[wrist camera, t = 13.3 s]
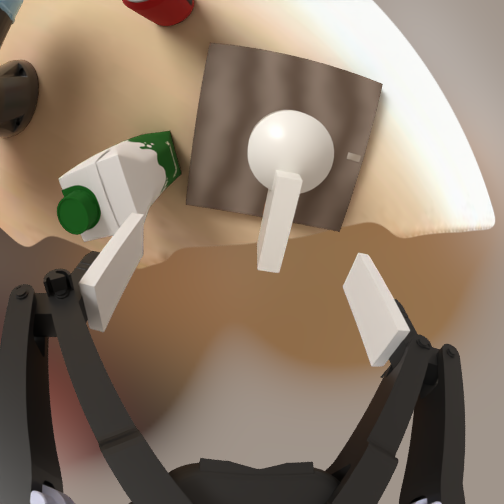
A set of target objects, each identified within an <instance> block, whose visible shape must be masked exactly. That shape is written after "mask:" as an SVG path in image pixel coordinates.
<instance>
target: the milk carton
mask: <svg viewBox="0 0 504 504" xmlns="http://www.w3.org/2000/svg"><path fill="white" fill-rule="evenodd" d="M181 174H182V173H181V170H180V166H179V163H178V159H177V156H176V152H175V148H174V145H173V141H172V137H171V133H170V131H165V132H157V133H150V134H144V135H140V136H137V137H134V138H131V139H128V140H125V141H123V142H121V143H119V144H116V145H114V146H112V147H110V148H108V149H106V150H104V151H102V152H100V153H97V154H96V155H94V156H92V157H90V158H89V159H87V160H85V161H84V162H82V163H80V164H78V165H77V166H75V167H74V168H72V169H71V170H69V171H68V172H67V173H65V174H64V175H62V176H61V177H60V178H59V182H60V185H61V187H62V193H63V195H64V198H63V199H62V200H61V201H60V202H59V204H58V207H57V216H58V219H59V222H60V224H61V225H62V227H63V228H64V229H65V230H66V231H68V232H69V233H71V234H76V235H78V234H81V236H82V239H83V241H84V242H86V241H91V240H95V239H99V238H104V237H108V236H113V235H114V234H115V233H116V232H117V230H118V229H119V228H120V227H121V225H122V224H123V223H124V222H125V220H126V219H127V218H128V217H129V216H130V214H131V213H137V214H144V222H145V219H146V216H147V213H148V210H149V208H150V206H151V205H152V204H153V203H154V202H155V200H156V199H157V198H158V197H159V196H160V194H161V193H162V192H163V191H164V190H165V189H166V188H167V187H168V186H169V185H170V184H171V183H172V182H173V181H174V180H175V179H176V178H178V177H179V176H180V175H181Z"/></svg>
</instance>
